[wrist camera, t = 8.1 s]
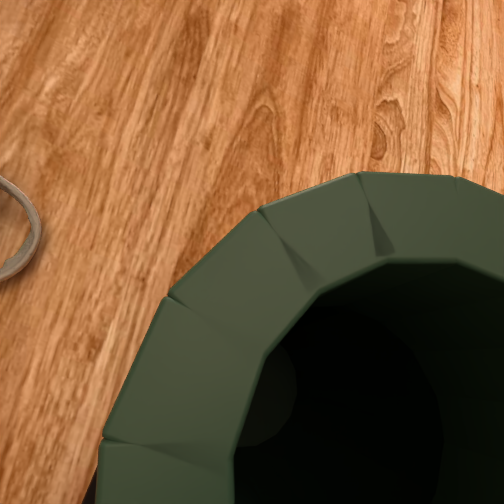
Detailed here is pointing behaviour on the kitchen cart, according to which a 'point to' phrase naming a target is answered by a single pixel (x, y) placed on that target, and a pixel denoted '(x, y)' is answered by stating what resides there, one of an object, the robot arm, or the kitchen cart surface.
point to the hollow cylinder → (326, 356)
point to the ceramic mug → (33, 239)
